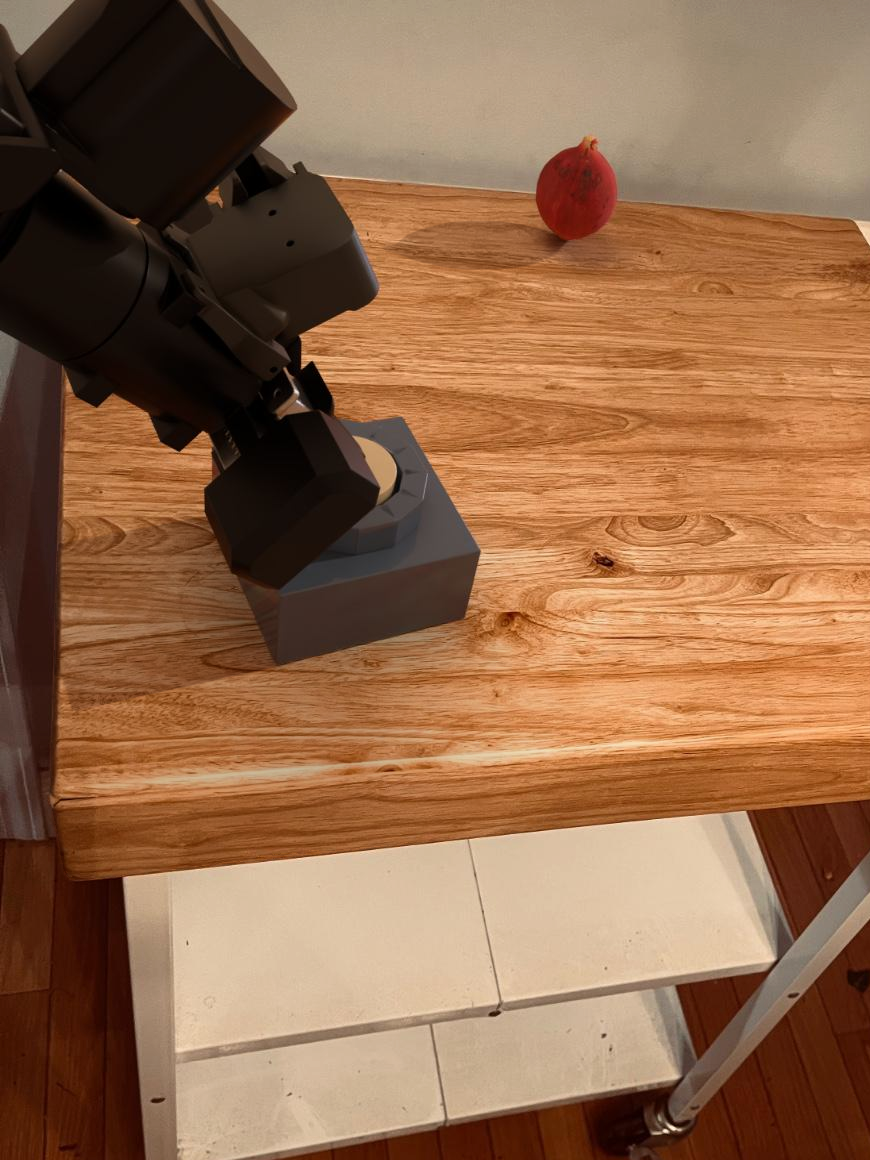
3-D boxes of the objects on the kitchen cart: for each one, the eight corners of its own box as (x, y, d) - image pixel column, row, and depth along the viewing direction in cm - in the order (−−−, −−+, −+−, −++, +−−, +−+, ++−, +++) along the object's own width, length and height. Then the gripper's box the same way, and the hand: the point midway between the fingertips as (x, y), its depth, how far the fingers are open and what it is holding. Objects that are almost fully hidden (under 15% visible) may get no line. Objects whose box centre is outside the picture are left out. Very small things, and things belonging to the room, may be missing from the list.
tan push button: (318, 537, 55) (321, 507, 54) (286, 473, 58) (288, 442, 56) (406, 519, 57) (411, 489, 56) (372, 458, 60) (376, 428, 58)
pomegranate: (602, 270, 86) (631, 169, 80) (524, 252, 85) (547, 148, 79) (604, 227, 89) (631, 127, 84) (529, 209, 88) (551, 107, 83)
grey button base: (275, 666, 57) (281, 569, 51) (211, 520, 62) (211, 417, 56) (465, 618, 61) (488, 524, 56) (391, 486, 66) (406, 389, 61)
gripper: (345, 297, 37) (577, 486, 50) (170, 5, 46) (405, 230, 59) (97, 524, 39) (383, 648, 52) (-22, 201, 48) (246, 376, 61)
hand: (356, 459), depth 56 cm, fingers closed, pressing on tan push button
